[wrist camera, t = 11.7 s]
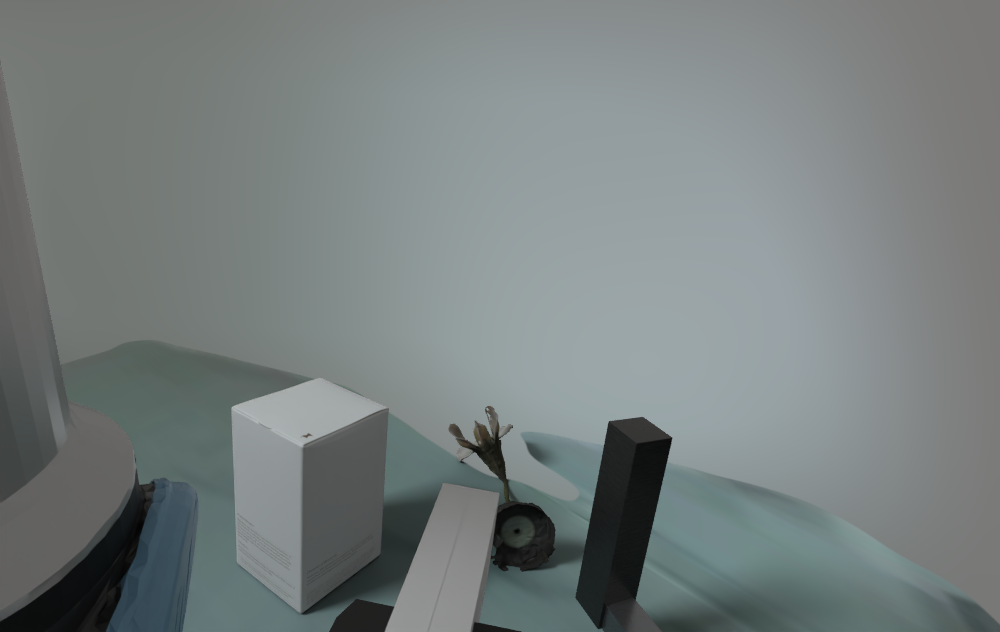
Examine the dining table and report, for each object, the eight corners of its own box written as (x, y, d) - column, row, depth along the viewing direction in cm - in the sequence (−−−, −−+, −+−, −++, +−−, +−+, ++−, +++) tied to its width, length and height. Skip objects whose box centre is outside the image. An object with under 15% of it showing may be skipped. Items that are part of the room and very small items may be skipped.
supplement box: (384, 555, 48) (393, 406, 44) (300, 618, 41) (302, 447, 37) (319, 512, 53) (322, 374, 48) (233, 562, 45) (228, 404, 41)
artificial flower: (466, 587, 47) (445, 487, 46) (460, 472, 69) (446, 401, 68) (562, 566, 48) (545, 466, 46) (526, 458, 70) (514, 388, 68)
